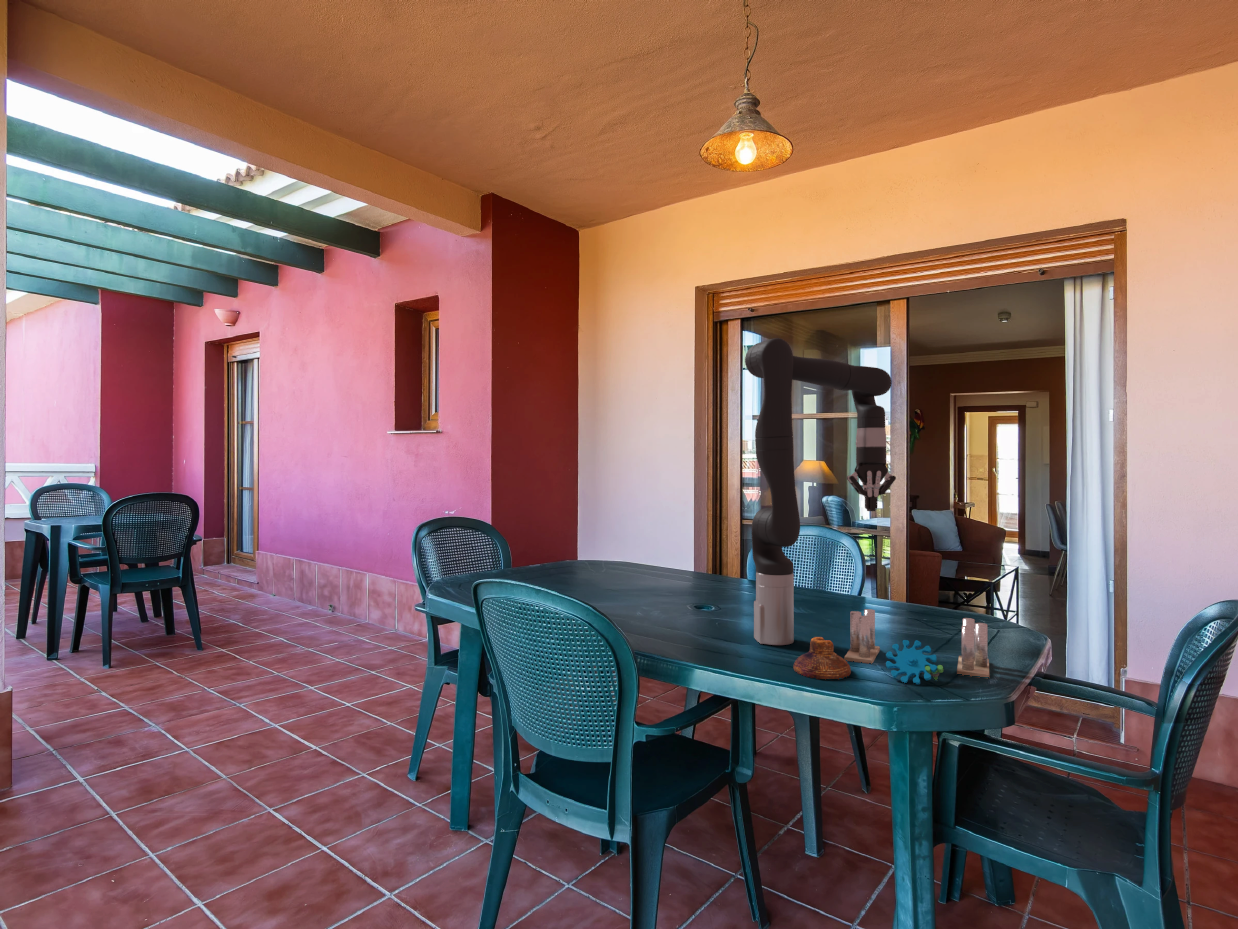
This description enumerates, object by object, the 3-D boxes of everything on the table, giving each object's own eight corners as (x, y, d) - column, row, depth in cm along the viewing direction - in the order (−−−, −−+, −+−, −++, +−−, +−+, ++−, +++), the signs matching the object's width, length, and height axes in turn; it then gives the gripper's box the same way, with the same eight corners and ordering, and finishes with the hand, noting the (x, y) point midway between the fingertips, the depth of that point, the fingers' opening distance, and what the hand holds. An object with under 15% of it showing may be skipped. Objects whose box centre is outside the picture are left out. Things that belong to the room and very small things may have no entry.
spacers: (854, 645, 168) (854, 607, 168) (987, 660, 154) (987, 619, 154) (846, 655, 158) (846, 616, 158) (987, 672, 145) (987, 629, 145)
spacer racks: (853, 646, 169) (853, 643, 169) (988, 662, 156) (988, 659, 155) (844, 660, 157) (844, 657, 157) (989, 678, 144) (989, 674, 144)
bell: (789, 664, 156) (789, 631, 156) (845, 665, 154) (844, 632, 154) (797, 680, 144) (797, 645, 144) (857, 682, 143) (857, 646, 143)
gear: (878, 671, 144) (893, 632, 148) (882, 686, 147) (897, 647, 152) (934, 690, 137) (949, 647, 141) (937, 704, 140) (951, 663, 145)
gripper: (851, 445, 180) (851, 512, 180) (902, 445, 180) (902, 512, 180) (841, 445, 187) (841, 510, 187) (889, 445, 188) (889, 510, 188)
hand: (871, 511), depth 184 cm, fingers closed
